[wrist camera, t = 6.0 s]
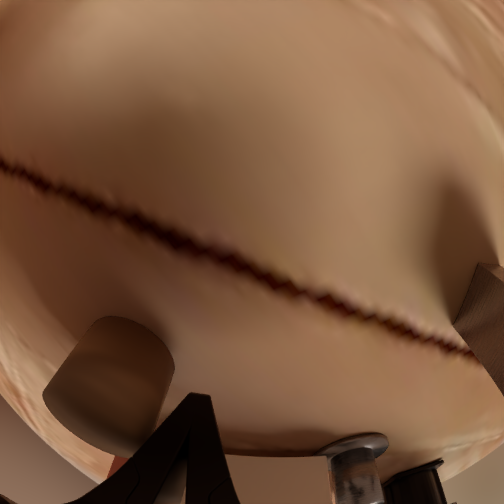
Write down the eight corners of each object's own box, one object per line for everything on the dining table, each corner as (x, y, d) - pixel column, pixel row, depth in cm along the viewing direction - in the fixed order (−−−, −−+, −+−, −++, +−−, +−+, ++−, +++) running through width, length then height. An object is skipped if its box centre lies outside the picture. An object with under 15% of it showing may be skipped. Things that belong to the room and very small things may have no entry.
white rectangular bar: (327, 454, 12) (334, 510, 8) (317, 467, 13) (322, 517, 9) (124, 432, 12) (105, 483, 8) (132, 447, 13) (117, 494, 9)
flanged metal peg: (400, 428, 12) (418, 485, 8) (369, 461, 14) (379, 509, 10) (324, 437, 12) (333, 506, 8) (304, 468, 14) (308, 522, 10)
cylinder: (169, 326, 9) (129, 414, 5) (179, 393, 11) (157, 468, 7) (80, 308, 9) (25, 372, 5) (102, 375, 11) (68, 436, 7)
